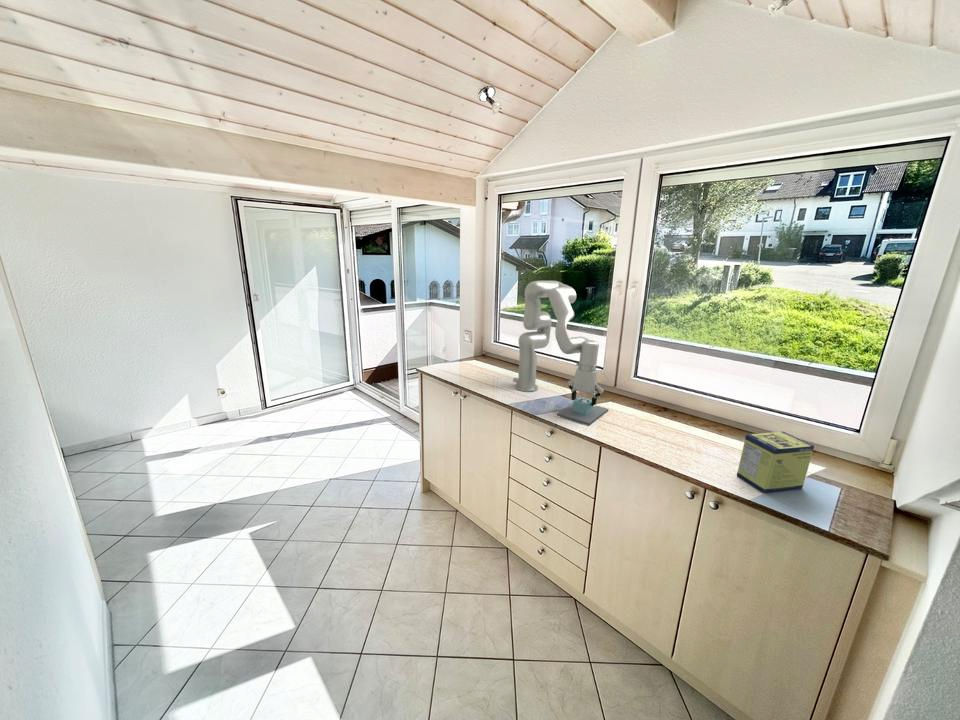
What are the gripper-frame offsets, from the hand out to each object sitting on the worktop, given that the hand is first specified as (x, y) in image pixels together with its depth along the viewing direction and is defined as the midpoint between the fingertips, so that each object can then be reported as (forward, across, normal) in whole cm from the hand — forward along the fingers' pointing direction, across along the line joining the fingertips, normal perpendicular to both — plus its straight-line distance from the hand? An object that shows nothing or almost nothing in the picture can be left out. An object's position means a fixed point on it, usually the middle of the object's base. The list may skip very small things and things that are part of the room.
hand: (583, 402), depth 175 cm
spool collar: (+4, 0, 0) cm, 4 cm away
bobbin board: (+5, 0, 0) cm, 5 cm away
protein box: (+5, +71, -12) cm, 73 cm away
